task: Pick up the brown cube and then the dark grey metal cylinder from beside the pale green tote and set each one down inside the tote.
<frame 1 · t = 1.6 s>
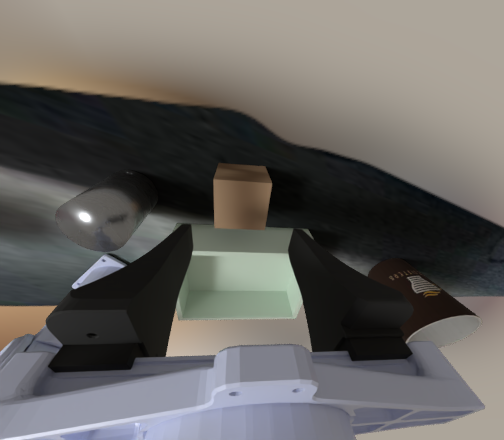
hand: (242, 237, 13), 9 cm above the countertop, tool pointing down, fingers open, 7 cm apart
grey metal cylinder: (134, 191, 20), on the countertop
green tote: (241, 262, 27), on the countertop
coffee mug: (379, 269, 31), on the countertop
brown cube: (240, 186, 21), on the countertop
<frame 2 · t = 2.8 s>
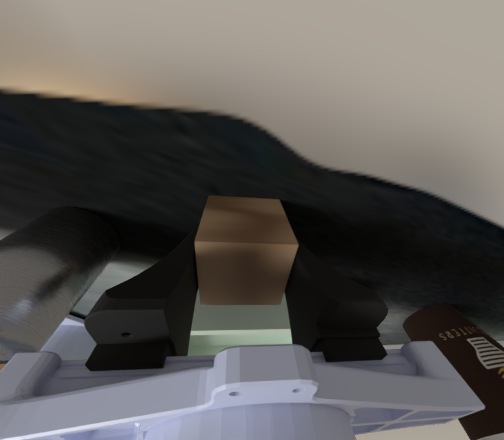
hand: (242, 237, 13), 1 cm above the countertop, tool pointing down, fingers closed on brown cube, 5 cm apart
grey metal cylinder: (84, 235, 14), on the countertop
green tote: (242, 313, 21), on the countertop
coffee mug: (418, 315, 24), on the countertop
brown cube: (242, 226, 14), on the countertop, touching gripper
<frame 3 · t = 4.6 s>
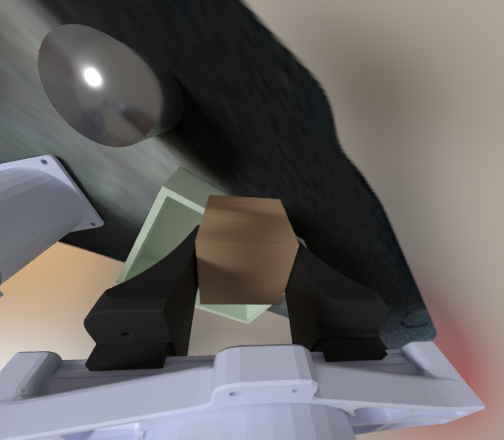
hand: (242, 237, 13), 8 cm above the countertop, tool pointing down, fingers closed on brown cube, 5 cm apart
grey metal cylinder: (152, 98, 15), on the countertop
green tote: (221, 245, 24), on the countertop
brown cube: (242, 226, 14), point 7 cm above the countertop, touching gripper
when the fingers open (4 cm above the countertop, at t = 6.4 s): brown cube drops 2 cm, resting on green tote.
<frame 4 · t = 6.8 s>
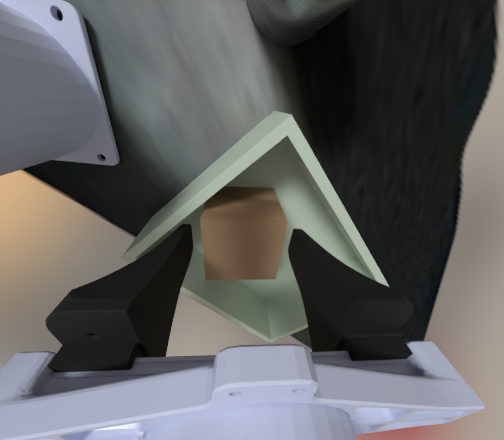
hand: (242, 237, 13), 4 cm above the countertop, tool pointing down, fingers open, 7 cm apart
green tote: (267, 236, 18), on the countertop
brown cube: (241, 213, 16), point 1 cm above the countertop, touching green tote
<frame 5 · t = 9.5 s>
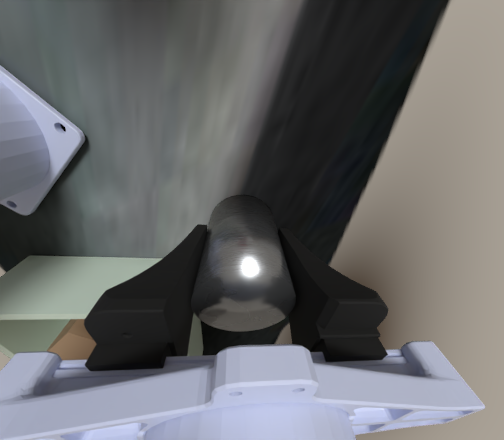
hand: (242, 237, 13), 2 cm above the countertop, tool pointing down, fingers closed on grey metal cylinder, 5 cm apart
grey metal cylinder: (242, 223, 15), on the countertop, touching gripper
green tote: (139, 313, 20), on the countertop
brown cube: (126, 296, 18), point 1 cm above the countertop, touching green tote
when the fingers open (4 cm above the countertop, at t = 13.4 s): grey metal cylinder drops 2 cm, resting on green tote.
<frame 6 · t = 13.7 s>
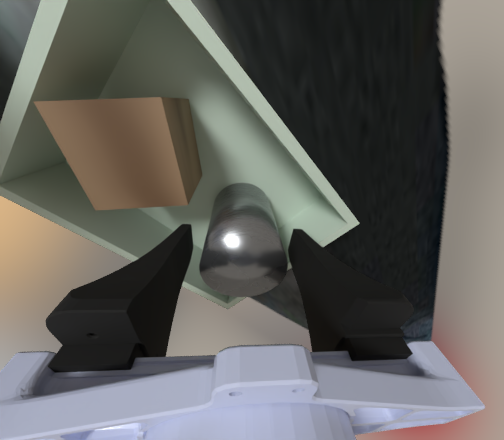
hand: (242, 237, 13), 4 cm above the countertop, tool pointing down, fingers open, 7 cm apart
grey metal cylinder: (242, 209, 16), point 1 cm above the countertop, touching green tote
green tote: (207, 177, 15), on the countertop
brown cube: (160, 142, 13), point 1 cm above the countertop, touching green tote
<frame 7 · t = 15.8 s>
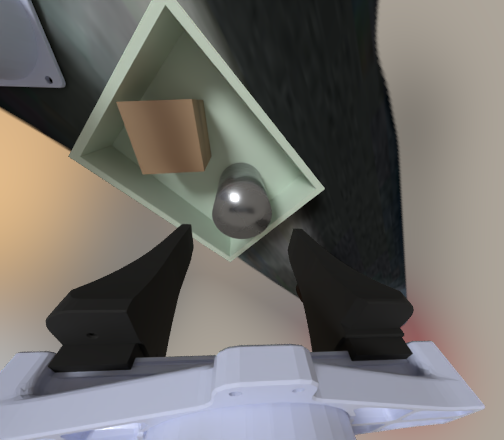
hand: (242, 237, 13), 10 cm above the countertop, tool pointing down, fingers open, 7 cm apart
grey metal cylinder: (241, 184, 21), point 1 cm above the countertop, touching green tote
green tote: (214, 159, 20), on the countertop
brown cube: (181, 131, 18), point 1 cm above the countertop, touching green tote
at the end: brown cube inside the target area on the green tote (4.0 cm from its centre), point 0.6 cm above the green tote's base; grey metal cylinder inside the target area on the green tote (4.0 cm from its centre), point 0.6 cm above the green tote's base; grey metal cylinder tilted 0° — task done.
